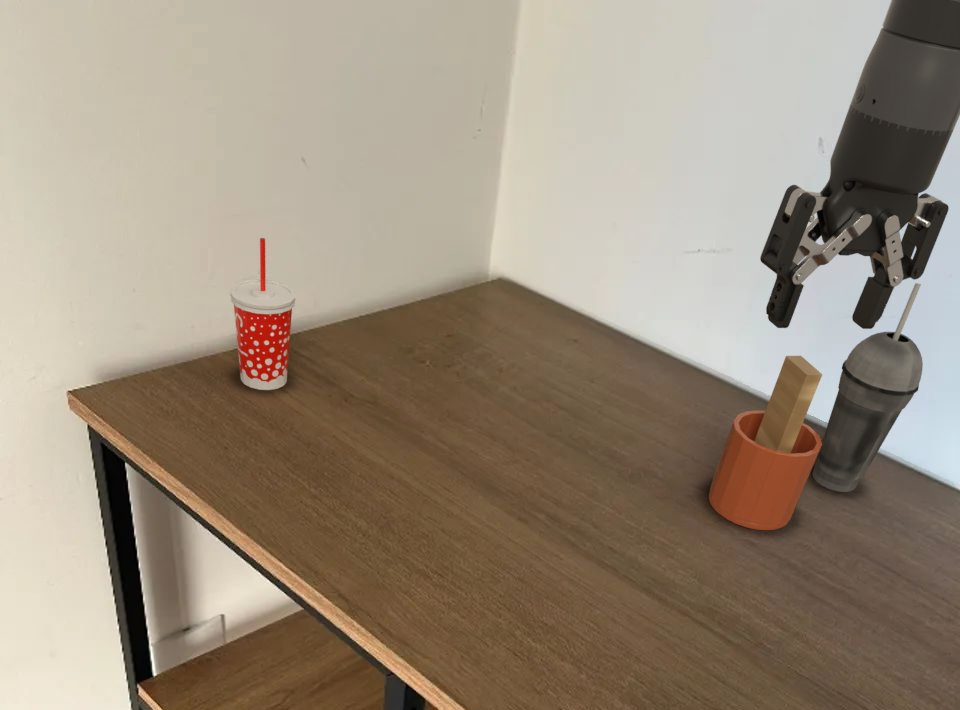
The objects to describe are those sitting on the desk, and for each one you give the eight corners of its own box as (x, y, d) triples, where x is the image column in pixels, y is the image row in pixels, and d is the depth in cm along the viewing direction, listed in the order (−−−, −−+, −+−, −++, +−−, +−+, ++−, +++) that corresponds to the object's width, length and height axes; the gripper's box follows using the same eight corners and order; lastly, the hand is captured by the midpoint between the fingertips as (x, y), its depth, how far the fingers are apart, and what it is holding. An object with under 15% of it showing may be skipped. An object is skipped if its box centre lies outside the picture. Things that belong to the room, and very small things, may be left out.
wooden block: (749, 490, 93) (801, 355, 84) (767, 510, 91) (823, 374, 82) (735, 491, 93) (785, 355, 84) (753, 511, 90) (807, 374, 81)
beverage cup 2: (799, 488, 96) (881, 293, 83) (798, 454, 102) (875, 265, 88) (871, 507, 95) (966, 312, 82) (867, 471, 101) (955, 283, 88)
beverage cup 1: (240, 361, 100) (236, 222, 90) (299, 370, 100) (302, 232, 91) (226, 388, 95) (220, 245, 86) (288, 397, 95) (289, 256, 86)
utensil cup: (763, 481, 96) (791, 409, 91) (806, 527, 91) (838, 454, 86) (694, 485, 94) (718, 411, 89) (733, 533, 88) (762, 457, 83)
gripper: (853, 118, 65) (770, 345, 75) (1014, 132, 69) (915, 345, 80) (794, 88, 70) (725, 304, 81) (948, 103, 75) (863, 306, 85)
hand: (820, 324), depth 80 cm, fingers open, 8 cm apart
